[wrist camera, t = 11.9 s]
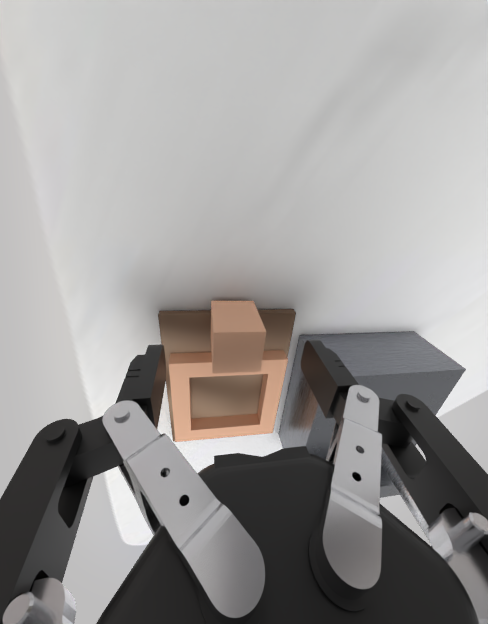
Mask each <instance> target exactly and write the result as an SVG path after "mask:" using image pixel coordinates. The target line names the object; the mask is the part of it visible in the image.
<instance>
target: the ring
mask: <svg viewBox="0 0 488 624" xmlns="http://www.w3.org/2000/svg"><path fill="white" fill-rule="evenodd" d="M265 338H266V329H265V327H264V325H263V322H262V320H261V318H260V315H259V313H258V310H257V308H256V306H255V303H254V301H211V352H204V353H171V354H170V359H169V374H170V386H171V397H172V409H173V420H174V432H175V442H180V441H191V440H201V439H212V438H223V437H234V436H245V435H256V434H267V433H272V432H273V428H274V423H275V418H276V414H277V409H278V404H279V400H280V395H281V390H282V386H283V381H284V376H285V372H286V367H287V362H288V358H287V356H286V354H285V352H284V350H268V351H264V345H265ZM255 374H263V380H262V386H261V393H260V399H259V406H258V412H257V414H246V415H233V416H220V417H207V418H194V419H191V389H190V378H192V377H213V376H234V375H255Z"/></svg>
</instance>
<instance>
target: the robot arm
mask: <svg viewBox="0 0 488 624" xmlns="http://www.w3.org/2000/svg"><path fill="white" fill-rule="evenodd" d="M301 370H302V372H303V374H304V376H305V378H306V380H307V382H308V384H309V386H310V388H311V390H312V392H313V394H314V396H315V398H316V400H317V402H318V404H319V406H320V408H321V410H322V412H323V414H324V416H325V418H334V419H335V420H336V423H335V425H334V429H333V433H332V437H331V441H330V446H329V450H328V454H327V457H326V460H325V459H323V458H321V457H319V456H317V455H313V454H309V452H308V450H307V447H306V446H300V447H290V448H284V449H281V450H279V451H277V452H274V453H272V454H269V455H267V456H264V457H259V456H253V455H246V454H240V453H236V454H227V455H217V456H214V464H212V465H210V466H208V467H206V468H204V469H203V470H201V471H200V472H199V473H198V474H197V473H196V471H195V470H194V469H193V468H192V466H191V465H190V464H189V462H188V461H187V460H186V459H185V457H184V456H183V455H182V453H181V452H180V451H179V450H178V448H177V447H176V446H175V444H174V443H173V442H172V441H171V439H170V438H169V437H168V436H167V435H166V434H162V435H161V434H160V433H159V431H158V430H157V427H158V421H159V415H160V410H161V404H162V398H163V392H164V387H165V381H166V359H165V350H164V345H148V348H147V351H146V354H145V355H137V356H136V357H135V358H134V359H133V361H132V362H131V363H130V366H129V369H128V371H127V374H126V378H125V379H124V382H123V385H122V388H121V390H120V393H119V396H118V398H117V401H116V403H115V404H114V405H112V406H111V407H110V408H109V409H108V410H107V411H106V412H105V413H104V415H103V416H102V417H100V418H97V419H95V420H92V421H89V422H86V423H82V424H79V425H78V424H77V422H75V421H74V420H71V419H62V420H59V421H55V422H53V423H51V424H49V425H47V426H46V427H44V428H43V429H42V430H41V431H40V432H39V433H38V434H37V435H36V437H35V438H34V440H33V442H32V444H31V445H30V447H29V449H28V451H27V452H26V454H25V456H24V458H23V460H22V461H21V463H20V465H19V467H18V469H17V470H16V472H15V474H14V476H13V477H12V479H11V481H10V483H9V485H8V486H7V489H6V490H5V492H4V494H3V495H2V497H1V499H0V624H74V621H75V614H76V603H75V599H74V597H73V595H72V594H71V593H70V592H69V591H68V590H67V588H66V587H64V585H63V584H62V581H63V577H64V574H65V570H66V567H67V564H68V560H69V557H70V554H71V550H72V547H73V543H74V540H75V537H76V533H77V530H78V527H79V523H80V520H81V516H82V513H83V510H84V506H85V503H86V499H87V496H88V493H89V489H90V486H91V482H92V479H93V476H95V475H98V474H100V473H102V472H105V471H107V470H110V469H112V468H114V467H117V466H118V468H119V469H120V471H121V473H122V475H123V477H124V479H125V480H126V482H127V484H128V486H129V488H130V490H131V491H132V493H133V495H134V497H135V499H136V501H137V503H138V505H139V508H140V510H141V512H142V514H143V516H144V518H145V520H146V522H147V524H148V526H149V528H150V530H151V531H152V533H153V535H154V536H153V538H152V539H151V541H150V542H149V544H148V545H147V547H146V548H145V550H144V551H143V553H142V554H141V556H140V557H139V559H138V560H137V562H136V563H135V565H134V566H133V568H132V569H131V571H130V572H129V574H128V575H127V577H126V578H125V580H124V582H123V583H122V585H121V586H120V588H119V589H118V591H117V592H116V594H115V595H114V597H113V598H112V600H111V601H110V603H109V604H108V606H107V607H106V609H105V610H104V612H103V613H102V615H101V617H100V619H99V620H98V622H97V624H488V474H487V473H486V472H485V471H484V470H483V469H482V468H481V466H480V465H479V464H478V463H477V462H476V461H475V460H474V459H473V457H472V456H471V455H470V454H469V453H468V452H467V451H466V450H465V448H463V446H462V445H461V444H460V443H459V442H458V441H457V439H456V438H455V437H454V436H453V435H452V434H451V433H450V432H449V430H448V429H447V428H446V427H445V426H444V425H443V424H442V423H441V422H440V420H439V419H438V418H437V417H436V416H435V415H434V414H433V412H432V411H431V410H430V409H429V408H428V407H427V406H426V405H425V404H424V403H423V402H422V401H421V400H419V399H418V398H416V397H414V396H411V395H408V394H399V395H398V396H397V397H396V399H395V401H394V400H389V399H383V398H379V397H378V396H377V395H376V394H375V393H374V392H373V391H372V390H371V389H369V388H367V387H365V386H361V385H359V384H358V382H357V381H356V380H355V378H354V377H353V376H352V374H351V373H350V372H349V370H348V369H347V368H346V367H345V365H344V364H343V362H342V361H341V359H340V358H339V357H338V355H337V354H336V353H335V352H333V351H332V350H331V349H329V348H326V347H325V346H324V345H323V343H322V342H321V341H320V340H307V341H306V342H305V345H304V349H303V353H302V358H301ZM413 439H414V440H415V442H416V443H417V444H418V446H419V447H420V448H421V450H422V451H423V453H424V454H425V457H426V461H425V459H424V458H423V456H422V455H421V454H420V452H419V451H418V450H417V448H416V447H415V445H414V444H413V443H412V440H413ZM382 448H383V450H384V452H385V454H386V455H387V457H388V459H389V460H390V462H391V464H392V465H393V467H394V469H395V470H396V472H397V474H398V475H399V477H400V479H401V481H402V482H403V484H404V486H405V487H406V489H407V491H408V492H409V494H410V496H411V497H412V499H413V501H414V502H415V504H416V506H417V507H418V509H419V511H420V513H421V514H422V516H423V518H424V519H425V521H426V523H427V524H428V526H429V528H428V535H429V539H430V542H431V544H432V546H430V545H428V544H427V543H426V542H425V541H424V540H422V539H421V538H420V537H419V536H418V535H417V534H415V533H414V532H413V531H412V530H411V529H409V528H408V527H407V526H406V525H404V524H403V523H402V522H401V521H400V520H399V519H397V518H396V517H395V516H394V515H393V514H392V513H390V512H389V511H388V510H387V509H386V508H384V507H383V506H382V505H381V504H380V478H381V452H382Z"/></svg>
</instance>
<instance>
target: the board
mask: <svg viewBox="0 0 488 624" xmlns="http://www.w3.org/2000/svg"><path fill="white" fill-rule="evenodd" d="M258 313H259V315H260V318H261V320H262V322H263V325H264V327H265V329H266V338H265V345H264V351H268V350H284V352H285V354H286V356H288V351H289V346H290V341H291V335H292V330H293V325H294V320H295V315H296V312H295V311H294V310H293V309H269V310H258ZM158 318H159V326H160V334H161V343H162V345H164V350H165V359H166V385H167V394H168V402H169V411H170V419H171V427H172V436H173V441H175V432H174V420H173V409H172V397H171V386H170V374H169V359H170V354H171V353H204V352H211V310H198V311H159V314H158ZM262 380H263V374H255V375H234V376H213V377H192V378H190V389H191V419H194V418H207V417H220V416H233V415H246V414H257V412H258V406H259V399H260V393H261V386H262ZM273 429H274V428H273Z"/></svg>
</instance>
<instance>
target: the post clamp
mask: <svg viewBox="0 0 488 624" xmlns="http://www.w3.org/2000/svg"><path fill="white" fill-rule="evenodd" d="M307 340H320V341H321V342H322V343H323V345H324V346H325V347H326V348H329V349H331V350H332V351H333V352H335V353H336V354H337V355H338V357H339V358H340V359H341V361H342V362H343V364H344V365H345V367H346V368H347V369H348V370H349V372H350V373H351V374H352V376H353V377H354V378H355V380H356V381H357V382H358V384H359V385H361V386H365V387H367V388H369V389H371V390H372V391H373V392H374V393H375V394H376V395H377V396H378V397H379V398H383V399H389V400H394V401H395V399H396V397H397V396H398V395H399V394H408V395H411V396H414V397H416V398H418V399H419V400H421V401H422V402H423V403H424V404H425V405H426V406H427V407H428V408H429V409H430V410H431V411H432V412H433V414H434V415H436V414H437V412H438V411H439V409H440V408H441V406H442V404H443V403H444V401H445V400H446V398H447V397H448V395H449V394H450V392H451V391H452V389H453V388H454V386H455V385H456V383H457V382H458V380H459V379H460V377H461V376H462V374H463V373H464V371H465V370H466V369H465V368H464V367H462V366H461V365H459V364H458V363H457V362H455V361H454V360H453V359H451V358H450V357H448V356H447V355H446V354H444V353H443V352H442V351H440V350H439V349H437V348H436V347H435V346H433V345H432V344H430V343H429V342H428V341H426V340H425V339H424V338H422V337H421V336H419V335H418V334H417V333H415V332H386V333H356V334H326V335H300V336H299V341H298V346H297V351H296V355H295V360H294V365H293V369H292V374H291V379H290V384H289V388H288V393H287V398H286V402H285V407H284V412H283V416H282V421H281V426H280V431H279V437H280V440H281V443H282V446H283V449H284V448H290V447H300V446H306V447H307V450H308V452H309V454H313V455H317V456H319V457H321V458H323V459H325V460H326V457H327V454H328V450H329V446H330V441H331V437H332V433H333V429H334V425H335V423H336V420H335V419H334V418H325V416H324V414H323V412H322V410H321V408H320V406H319V404H318V402H317V400H316V398H315V396H314V394H313V392H312V390H311V388H310V386H309V384H308V382H307V380H306V378H305V376H304V374H303V372H302V370H301V358H302V353H303V349H304V345H305V342H306V341H307ZM412 443H413V444H414V445H416V444H417V443H416V442H415V440H414V439H413V440H412ZM393 495H401V497H402V499H403V500H404V502H405V503H406V505H407V506H408V508H409V510H410V511H411V513H412V514H413V516H414V518H415V519H416V521H417V522H418V524H419V526H420V527H421V529H422V530H423V532H424V534H425V535H426V537H427V538H428V540H429V542H430V539H429V535H428V528H429V526H428V524H427V523H426V521H425V519H424V518H423V516H422V514H421V513H420V511H419V509H418V507H417V506H416V504H415V502H414V501H413V499H412V497H411V496H410V494H409V492H408V491H407V489H406V487H405V486H404V484H403V482H402V481H401V479H400V477H399V475H398V474H397V472H396V470H395V469H394V467H393V465H392V464H391V462H390V460H389V459H388V457H387V455H386V454H385V452H384V450H383V448H382V452H381V478H380V498H381V497H387V496H393ZM430 543H431V542H430ZM431 545H432V544H431Z"/></svg>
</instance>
